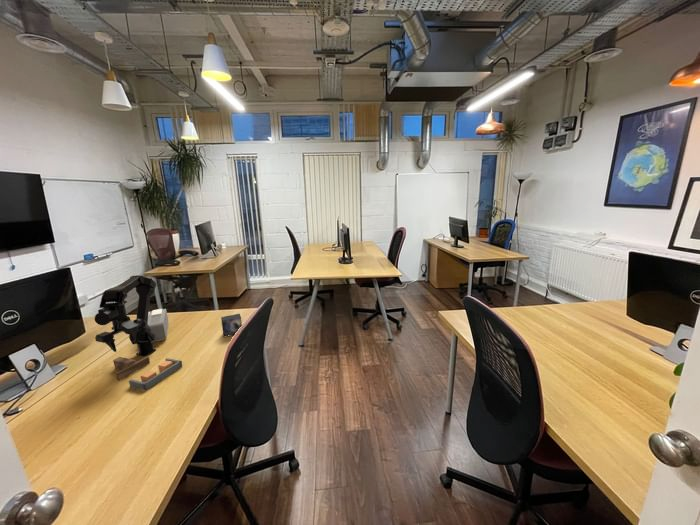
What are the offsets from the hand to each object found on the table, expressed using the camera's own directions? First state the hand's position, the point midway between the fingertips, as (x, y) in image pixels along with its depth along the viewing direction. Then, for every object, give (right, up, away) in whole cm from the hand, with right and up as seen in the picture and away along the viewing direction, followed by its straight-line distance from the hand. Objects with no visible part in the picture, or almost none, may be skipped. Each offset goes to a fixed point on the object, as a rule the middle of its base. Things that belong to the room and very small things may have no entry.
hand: (125, 346), depth 133 cm
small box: (+36, -3, +35) cm, 50 cm away
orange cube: (+20, -11, -1) cm, 23 cm away
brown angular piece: (-1, -11, +1) cm, 11 cm away
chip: (+18, -13, -9) cm, 23 cm away
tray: (+18, -12, -5) cm, 22 cm away
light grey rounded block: (-9, -4, +37) cm, 38 cm away
